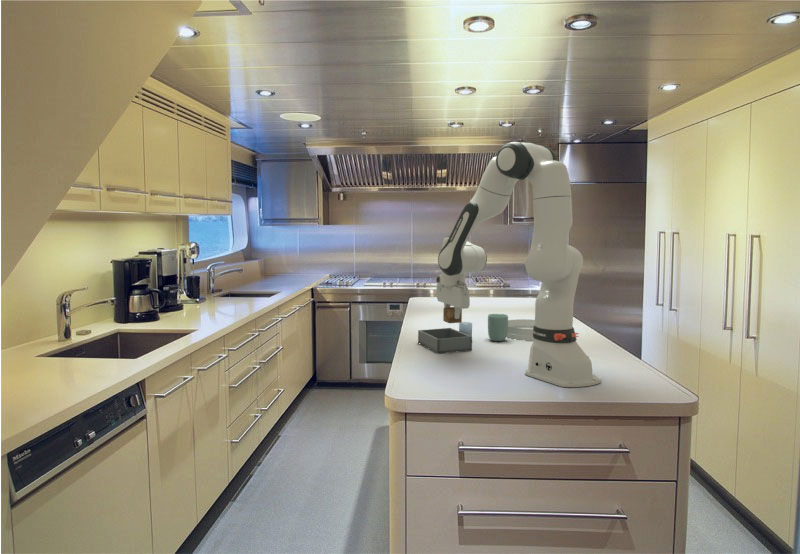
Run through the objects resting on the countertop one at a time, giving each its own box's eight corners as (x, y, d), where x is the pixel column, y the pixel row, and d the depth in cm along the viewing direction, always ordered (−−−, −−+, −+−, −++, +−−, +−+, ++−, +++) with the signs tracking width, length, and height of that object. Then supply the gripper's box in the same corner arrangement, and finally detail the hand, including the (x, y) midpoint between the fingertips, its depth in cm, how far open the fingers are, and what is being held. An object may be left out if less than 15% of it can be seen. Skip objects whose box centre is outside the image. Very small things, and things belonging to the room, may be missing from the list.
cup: (506, 338, 209) (507, 313, 208) (508, 343, 201) (509, 317, 200) (486, 338, 210) (487, 313, 209) (488, 342, 202) (488, 316, 201)
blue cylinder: (474, 341, 203) (474, 323, 203) (462, 342, 202) (462, 324, 201) (468, 339, 208) (468, 321, 207) (456, 340, 206) (456, 322, 206)
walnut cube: (461, 322, 192) (461, 309, 191) (449, 323, 190) (449, 309, 190) (455, 320, 197) (455, 306, 196) (443, 320, 195) (443, 307, 194)
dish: (563, 342, 204) (563, 329, 203) (506, 341, 204) (506, 329, 204) (548, 330, 226) (548, 319, 225) (497, 330, 226) (497, 319, 226)
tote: (471, 350, 189) (472, 336, 189) (437, 353, 185) (437, 339, 184) (450, 340, 206) (450, 327, 205) (418, 343, 201) (418, 330, 200)
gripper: (474, 282, 183) (473, 321, 185) (448, 276, 202) (448, 312, 204) (458, 283, 181) (457, 322, 182) (433, 277, 200) (433, 313, 201)
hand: (452, 317), depth 193 cm, fingers closed on walnut cube, 5 cm apart
